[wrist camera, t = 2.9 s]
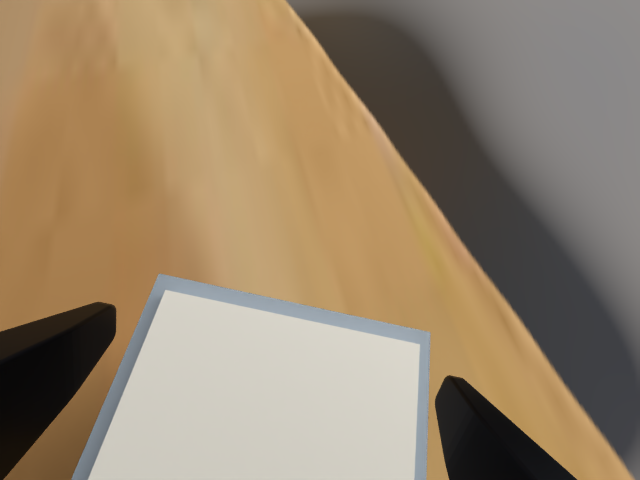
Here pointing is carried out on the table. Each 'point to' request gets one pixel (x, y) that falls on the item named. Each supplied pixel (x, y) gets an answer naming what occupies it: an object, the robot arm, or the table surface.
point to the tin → (261, 393)
